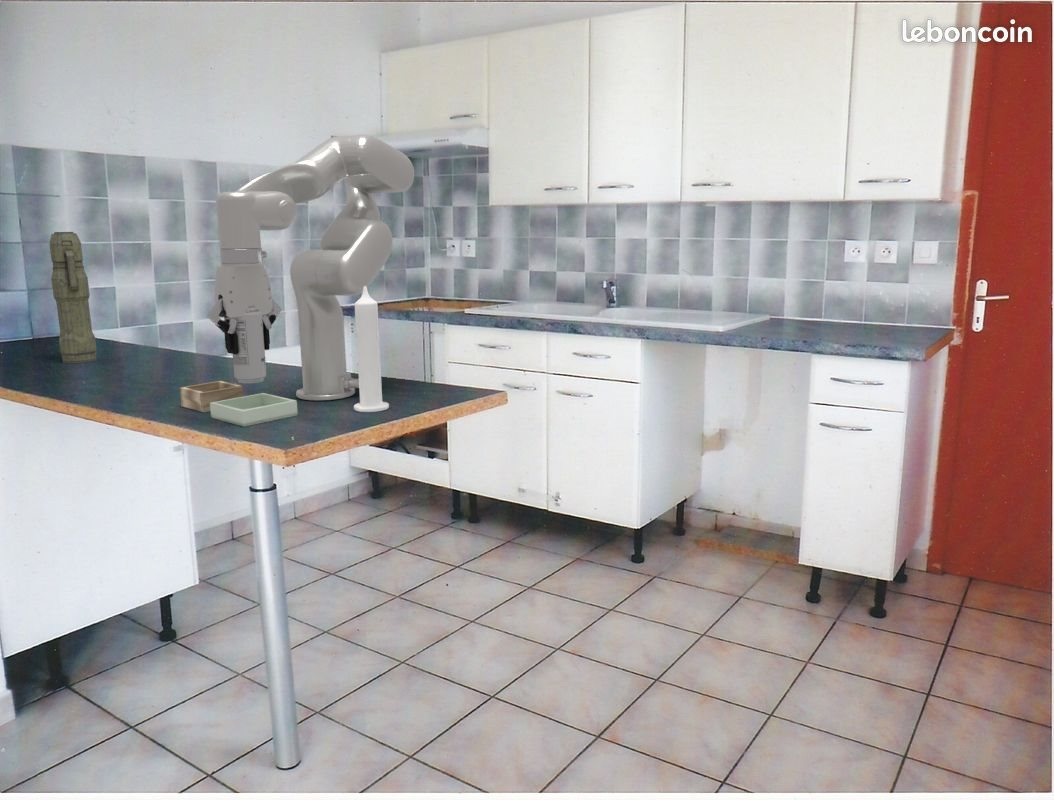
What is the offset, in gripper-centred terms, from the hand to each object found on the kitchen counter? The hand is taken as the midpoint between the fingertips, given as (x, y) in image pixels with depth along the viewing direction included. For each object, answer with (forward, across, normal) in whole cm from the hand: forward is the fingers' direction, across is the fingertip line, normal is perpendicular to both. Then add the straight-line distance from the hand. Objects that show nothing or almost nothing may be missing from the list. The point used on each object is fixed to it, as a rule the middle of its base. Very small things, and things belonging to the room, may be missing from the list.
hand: (248, 350), depth 171 cm
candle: (+13, -19, +13) cm, 27 cm away
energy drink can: (+6, 0, 0) cm, 6 cm away
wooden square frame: (+13, 0, -16) cm, 21 cm away
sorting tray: (+13, 0, 0) cm, 13 cm away
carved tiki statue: (+13, -7, -98) cm, 99 cm away
